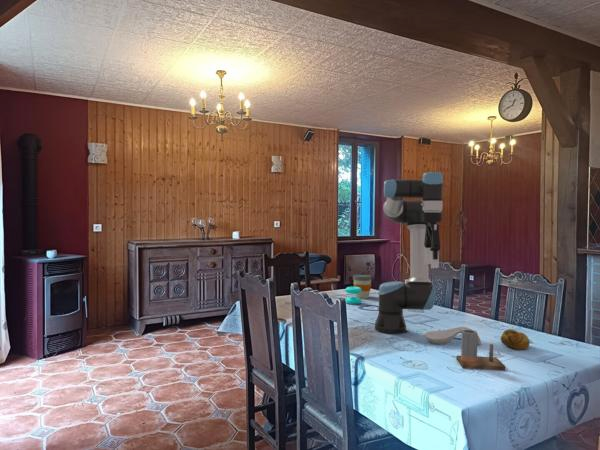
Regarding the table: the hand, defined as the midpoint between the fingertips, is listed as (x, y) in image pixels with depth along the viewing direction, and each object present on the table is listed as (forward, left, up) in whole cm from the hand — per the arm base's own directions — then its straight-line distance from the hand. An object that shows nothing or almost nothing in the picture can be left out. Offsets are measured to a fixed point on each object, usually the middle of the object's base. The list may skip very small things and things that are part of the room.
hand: (431, 265), depth 168 cm
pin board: (+17, -5, -37) cm, 41 cm away
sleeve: (+13, -5, -35) cm, 38 cm away
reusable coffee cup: (-24, +120, -37) cm, 128 cm away
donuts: (-30, +100, -37) cm, 111 cm away
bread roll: (+39, +21, -37) cm, 58 cm away
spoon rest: (+13, +22, -37) cm, 45 cm away
